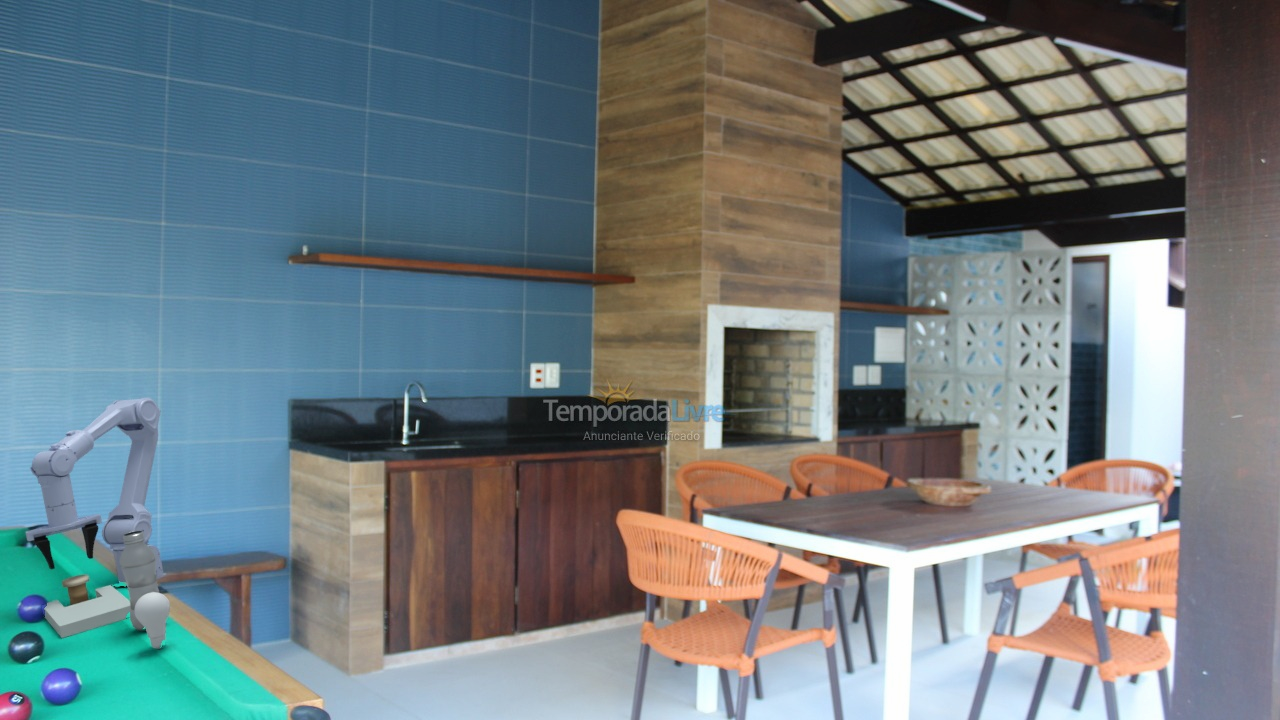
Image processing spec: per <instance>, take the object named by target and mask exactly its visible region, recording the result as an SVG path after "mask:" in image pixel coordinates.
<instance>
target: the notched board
mask: <svg viewBox="0 0 1280 720" xmlns="http://www.w3.org/2000/svg"><path fill="white" fill-rule="evenodd" d="M111 585H112V584H110V585H105V586H102V587H98V588H95V589H94V591H95V596H96V597H95V598H92V599H89V600H88V601H84V602H81V603H77V604H74V605H71V604H70V605H68V606H67V605H66V606H64V605H63V604H62V603H61V602H60V601H59V600H58V599H56V600H52V601H49V602H46V603H47V606H46V607H45V608H44V610H45V617H44V618H45V619H46V621H47V622H48V623H49V624H50V625H51V627H52V628H53V629H54V631H55V632H57V634H58V635H59V637H60V638H61V639H64V638H67V637H70V636H71V637H72V636H74V635H77V634H80V633H83V632H87V631H89V630H90V631H91V630H93V629H96V628H100V627H103V626H107V625H110V624H113V623H116V622H117V623H118V622H120V621H123V620H127V619H126V616H127V614H128V613H129V612H130V609H131V607H130V599H128V598H127V597H126V596H124V595H123V594H122V593H121V592H120V591H118V590H117V589H116V587H112V586H111Z"/></svg>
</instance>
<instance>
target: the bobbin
mask: <svg viewBox="0 0 1280 720" xmlns="http://www.w3.org/2000/svg"><path fill="white" fill-rule="evenodd" d="M88 582H90V575H89V574H78V575H74V576H70V577H68V578H65V579H63V580H62V581H61V584H62V587H63V588H67V592H68V598H69V603H70V605H74V604H77V603H81V602H84V601H88V600H90V598H89V593H88V588H87V583H88Z"/></svg>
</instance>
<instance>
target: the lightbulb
mask: <svg viewBox="0 0 1280 720" xmlns="http://www.w3.org/2000/svg"><path fill="white" fill-rule="evenodd" d="M170 610H171V603H170V600H169V598H168V597H167V596H166V595H164V594H163V593H160V592H159V593H157V592H151V593H147V594H145V595H143V596H142V597H141V598H140V599H139V600H138V601H137V603H136V605H135V609H134V612H135V616H136V618H137V619H138V621H139V622H140V623H141V624H142V625H143V626H144V627H145V629H146V630H145V631H146V634H147V637H148V638H149V641H150V645H151V648H153V649H157V650H159V649H160V650H161V648H160V647H161V643H162V641H163V640H165V639H166V640H167V638H166V633H167V629H166V627H167V624H166V623H167V620H168V617H169V614H170Z"/></svg>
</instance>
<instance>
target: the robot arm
mask: <svg viewBox="0 0 1280 720" xmlns="http://www.w3.org/2000/svg"><path fill="white" fill-rule="evenodd" d="M160 416H161V410H160V408H159V406H158V405H157V403H156V401H155V400H154V399H152V398H151V397H142V398H135V399H125V400H124V399H116V400H114V401H112V403H111V404H109V405H106V407H105V410H104V411H103V412H102V413H101V414H99V416H97V417H96V418H95V419H94V420H92V422H90V423H89V424H88V425H87V426H86V427H84V428H83V429H82V430H80V429H74V430H69V431H67V432H65V435H66V436H65V437H63V438H62V439H61V440H59V441H58V442H56V443H52V444H51V445H50V448H49V449H48V450H46V451H45V450H44V451H43V450H42V451H40V452H38V453H37V454H36V455H35V456H34V457H33V459H32V462H31V466H30V467H29V469H30V471H31V473H32V475H34V476H35V477H36V478H37V482H38V484H39V485H40V488H41V492H42V498H43V499H42V500H43V504H44V507H45V512H46V513H45V514H46V519H47V525H43V526H41V527H40V526H39V527H38V528H35V529H31V530H27V531H25V536H26V540H27V542H33V543H34V544H35V546H36V547H37V548H38V550H39V551H40V552H41V554H42V556H44V559H45V561H46V563H47V565H48V568H49V569H50V570H54V569H55V568H56V567H55V563H54V559H53V556H52V550H51V541H50V540H49V539H48V537H50V536H53V535H57V534H61V533H64V532H69V531H72V530H77V529H80V528H81V532H82V535H83V539H84V543H85V550H86V551H85V552H86V556H87V558H88V559H89V560H91V559H93V558H94V547H95V541H96V537H97V534H98V532H99V524H102V523H103V520H102V514H99V513H96V514H92V515H86V516H82V517H80V516H79V517H78V512H77V506H76V501H75V496H74V490H73V487H72V486H73V485H72V481H71V475H70V474H71V473H72V472H73V470H74V467H75V464H76V462H78V461H79V460H81V459H82V458H83V457H84V456H86V455H87V454H88V453H89V452H91V451H92V450H93V448H94V446H95V445H94V442H95V441H96V440H98V439H99V438H101V437H102V436H104V435H105V434H107V433H108V432H109V431H111V430H112V429H114V428H115V427H117V428H118V429H119V430H120V431H121V432H122V433H124V435H126V436H127V437H129V438H130V440H131V444H130V449H129V455H128V460H127V462H126V463H127V464H126V469H125V473H124V478H123V484H122V489H121V493H120V498H119V502H118V505H116V506H115V507H114V508H113V509H111V511H110V512H109V513H108V517H107V520H106V521H105V523H104V525H103V526H102V529H101V536H102V540H103V541H104V542H105V544H107V545H109V548H110V549H111V550H112V552H113V557H114V561H115V568H116V573H117V578H118V582H119V581H120V582H126V580H125V577H124V574H123V571H122V569H121V566H120V557H121V555H122V552H123V551H124V549H125V547H126V545H124V539H123V535H124V534H126V533H129V532H133V531H143V534H144V537H145V540H144V543H145V544H146V545H147V546H149V547H150V548H151V549H152V550H153V552H154V554H155V562H156V578H157V580H160V579H162V578H163V577H165V576H167V573H164V569H163V564H162V563H163V562H162V558H161V553H160V550H159V548H158V547H157V546H155V545H152V544H149V543H150V541H149V540H150V539H151V536H152V534H153V533H152V531H153V527H152V517H153V514H152V513H151V511H149V510H147V509H146V507H145V506H146V505H145V504H146V499H147V493H148V490H149V485H150V479H151V475H152V469H153V465H154V459H155V454H156V450H157V445H158V441H159V440H158V439H159V429H158V427H159V421H160Z"/></svg>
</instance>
